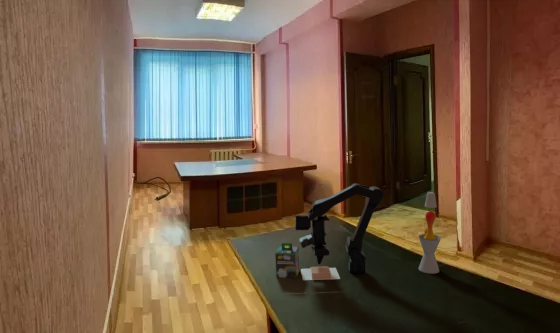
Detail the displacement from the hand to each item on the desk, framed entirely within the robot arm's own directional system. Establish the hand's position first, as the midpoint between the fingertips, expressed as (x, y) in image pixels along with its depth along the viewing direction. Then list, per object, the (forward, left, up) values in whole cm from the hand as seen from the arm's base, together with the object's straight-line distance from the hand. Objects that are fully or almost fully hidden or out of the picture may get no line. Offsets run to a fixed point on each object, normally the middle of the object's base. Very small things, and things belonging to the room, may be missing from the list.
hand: (319, 263), depth 168 cm
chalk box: (+14, +1, -4) cm, 15 cm away
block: (0, 0, -2) cm, 2 cm away
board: (0, +2, -4) cm, 5 cm away
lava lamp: (-49, +1, -4) cm, 49 cm away
